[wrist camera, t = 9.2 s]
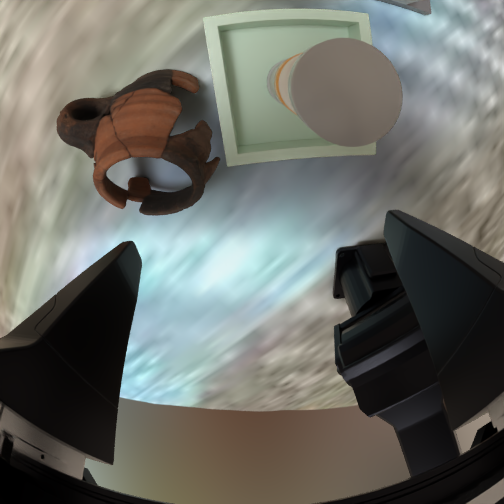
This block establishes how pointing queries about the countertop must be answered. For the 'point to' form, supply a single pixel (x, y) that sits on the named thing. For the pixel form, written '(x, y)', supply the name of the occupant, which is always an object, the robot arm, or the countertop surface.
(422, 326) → the robot arm
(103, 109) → the pottery mug
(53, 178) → the countertop surface
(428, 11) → the block
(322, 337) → the countertop surface
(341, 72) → the banded fuse
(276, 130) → the tray
